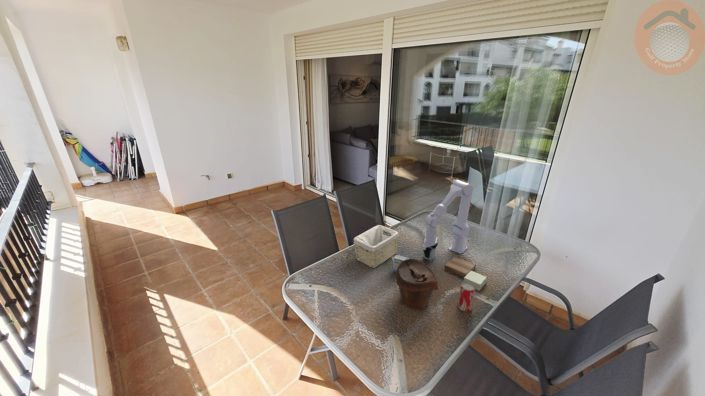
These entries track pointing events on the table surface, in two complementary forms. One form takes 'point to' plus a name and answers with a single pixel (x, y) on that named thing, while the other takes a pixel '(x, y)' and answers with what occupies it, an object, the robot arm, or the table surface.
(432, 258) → the slate block
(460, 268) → the walnut block
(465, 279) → the sage block
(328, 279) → the table surface
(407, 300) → the brown lidded pot
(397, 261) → the medicine box
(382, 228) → the storage basket
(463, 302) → the beverage can
